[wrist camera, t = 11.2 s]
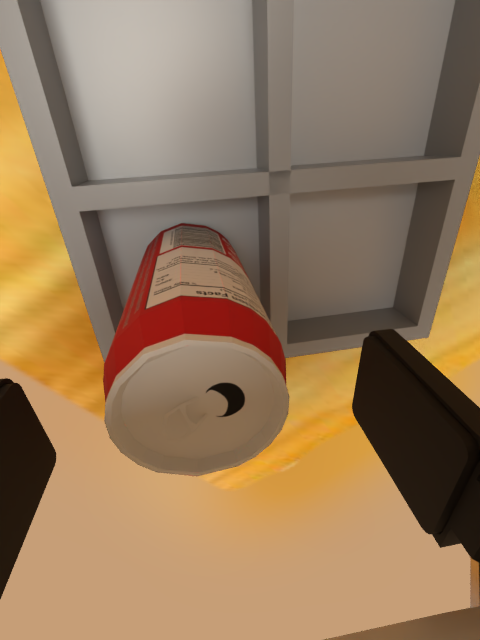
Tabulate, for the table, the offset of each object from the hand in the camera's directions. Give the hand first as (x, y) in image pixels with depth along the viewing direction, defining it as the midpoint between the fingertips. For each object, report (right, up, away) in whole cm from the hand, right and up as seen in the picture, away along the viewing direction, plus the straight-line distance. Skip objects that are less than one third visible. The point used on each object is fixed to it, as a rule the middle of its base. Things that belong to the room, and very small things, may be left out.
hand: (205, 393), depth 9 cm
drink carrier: (+2, +10, +9) cm, 13 cm away
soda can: (-2, +5, +10) cm, 11 cm away
